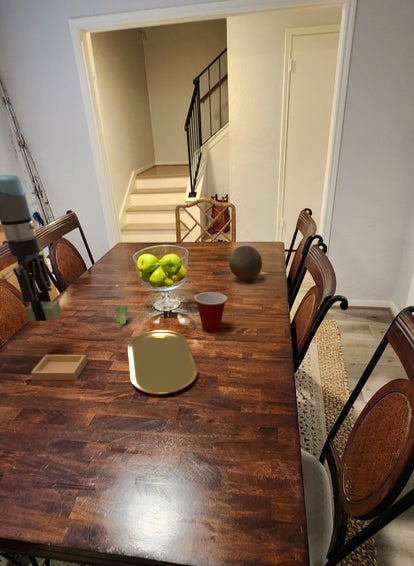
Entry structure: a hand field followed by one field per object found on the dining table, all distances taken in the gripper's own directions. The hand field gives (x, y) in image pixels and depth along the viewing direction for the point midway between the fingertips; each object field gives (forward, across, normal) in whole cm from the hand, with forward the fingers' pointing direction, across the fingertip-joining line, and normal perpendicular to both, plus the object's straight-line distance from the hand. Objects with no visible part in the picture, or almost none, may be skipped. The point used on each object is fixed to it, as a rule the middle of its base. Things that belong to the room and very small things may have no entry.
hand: (45, 316), depth 112 cm
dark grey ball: (+13, +60, -62) cm, 88 cm away
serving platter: (+13, -6, -35) cm, 38 cm away
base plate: (+13, -10, -6) cm, 18 cm away
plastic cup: (+13, +15, -49) cm, 53 cm away
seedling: (+13, +25, -20) cm, 34 cm away
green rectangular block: (0, 0, 0) cm, 0 cm away
